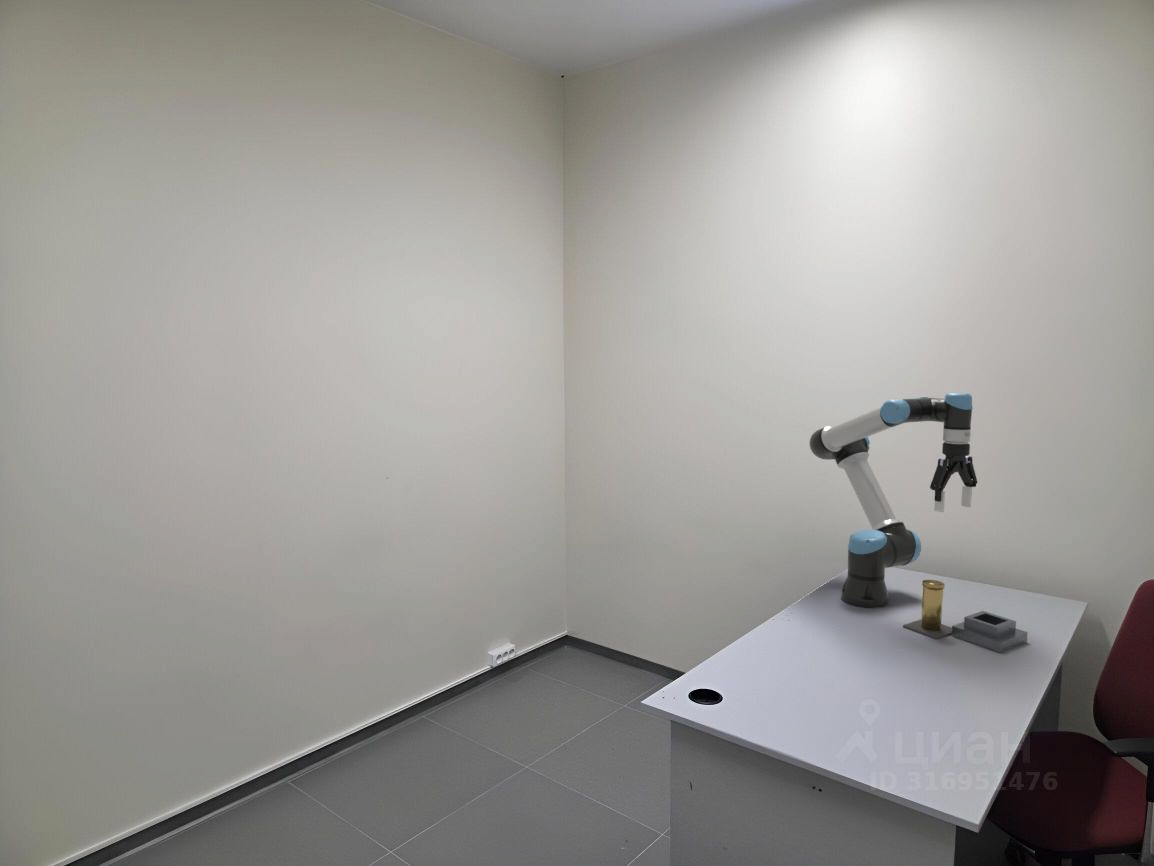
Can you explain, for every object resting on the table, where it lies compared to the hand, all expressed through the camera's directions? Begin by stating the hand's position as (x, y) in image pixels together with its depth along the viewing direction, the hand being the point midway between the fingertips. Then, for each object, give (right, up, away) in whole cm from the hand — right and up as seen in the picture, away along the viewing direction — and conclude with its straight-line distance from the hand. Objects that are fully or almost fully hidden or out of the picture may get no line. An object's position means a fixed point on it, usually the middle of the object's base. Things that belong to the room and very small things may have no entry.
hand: (952, 509), depth 218 cm
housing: (+2, -37, -15) cm, 40 cm away
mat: (-11, -36, -8) cm, 38 cm away
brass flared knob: (-11, -35, -8) cm, 38 cm away
